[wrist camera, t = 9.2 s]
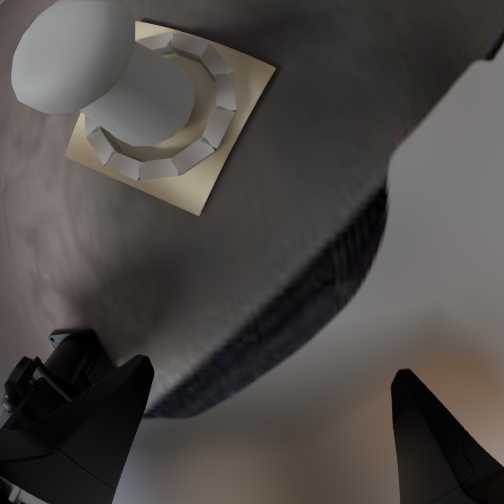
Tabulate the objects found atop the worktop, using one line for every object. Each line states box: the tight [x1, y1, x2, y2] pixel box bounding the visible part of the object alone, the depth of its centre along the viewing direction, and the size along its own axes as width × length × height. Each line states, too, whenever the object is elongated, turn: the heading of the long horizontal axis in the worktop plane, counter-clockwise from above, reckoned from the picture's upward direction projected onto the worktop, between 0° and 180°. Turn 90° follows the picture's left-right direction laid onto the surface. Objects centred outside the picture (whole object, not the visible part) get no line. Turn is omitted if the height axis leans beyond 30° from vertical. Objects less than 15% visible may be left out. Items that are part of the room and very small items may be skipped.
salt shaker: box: [11, 0, 195, 146], centre depth 10 cm, size 6×6×13 cm
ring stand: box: [64, 21, 276, 216], centre depth 16 cm, size 12×12×2 cm
